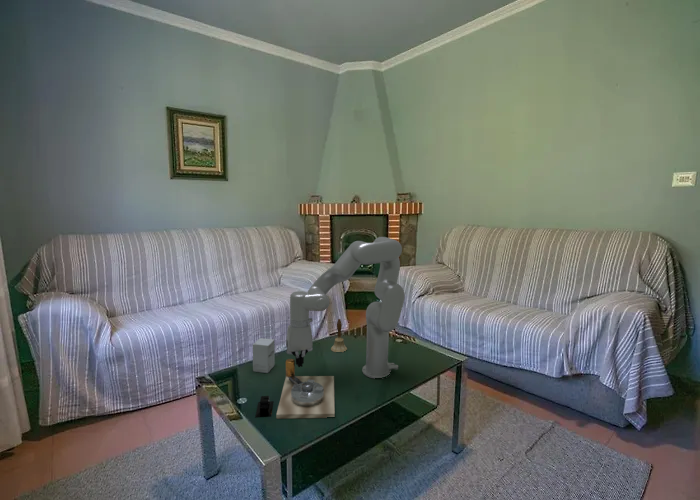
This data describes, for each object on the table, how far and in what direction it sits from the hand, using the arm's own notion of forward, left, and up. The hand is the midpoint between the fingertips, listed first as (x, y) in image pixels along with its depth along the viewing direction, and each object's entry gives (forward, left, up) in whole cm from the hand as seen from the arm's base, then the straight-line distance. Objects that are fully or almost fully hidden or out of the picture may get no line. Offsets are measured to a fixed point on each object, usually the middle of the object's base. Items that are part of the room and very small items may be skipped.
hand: (299, 365), depth 140 cm
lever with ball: (-1, +9, -6) cm, 11 cm away
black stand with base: (+11, +18, -8) cm, 22 cm away
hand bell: (-17, -33, -8) cm, 38 cm away
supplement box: (+17, -13, -8) cm, 23 cm away
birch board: (-4, +10, -8) cm, 14 cm away
